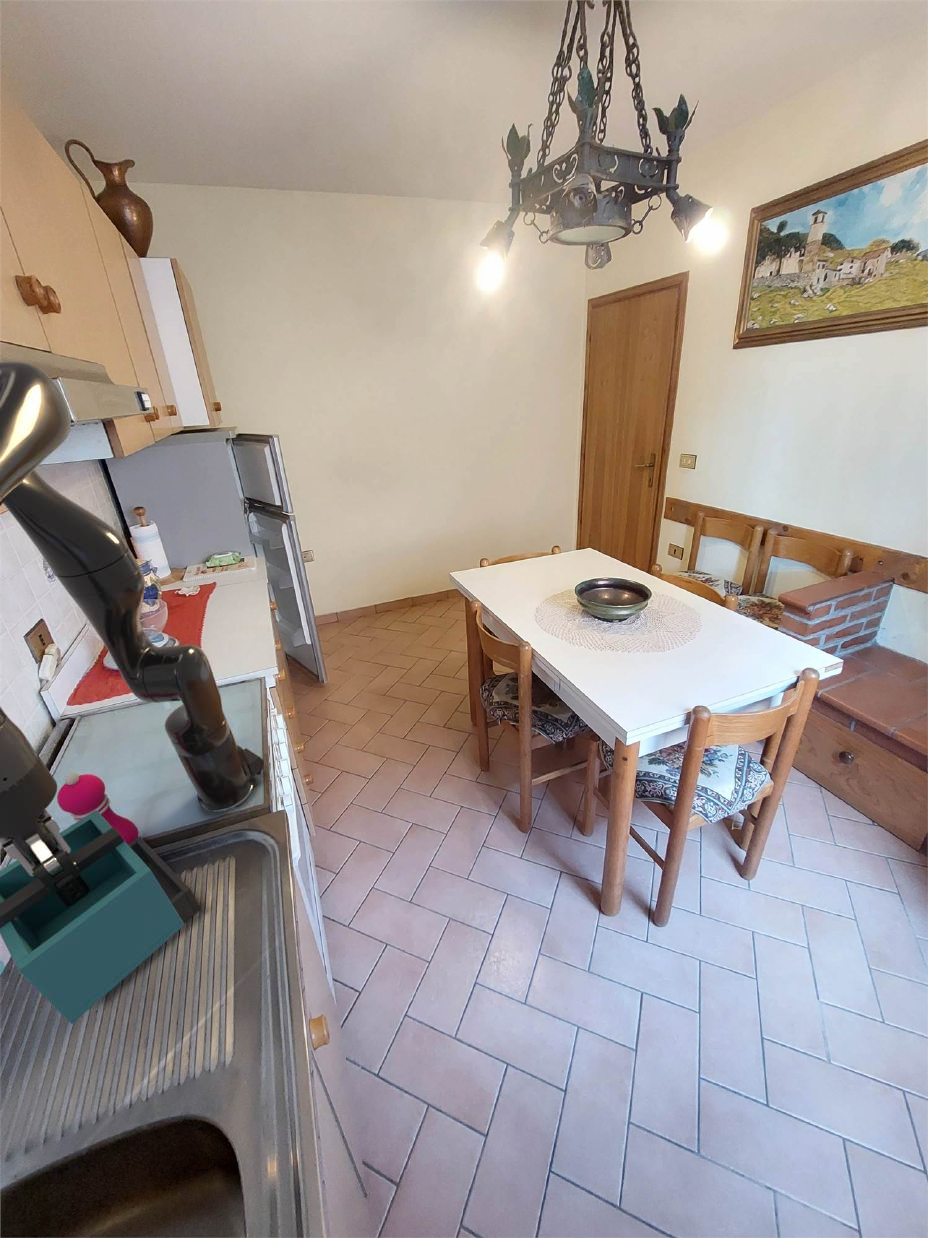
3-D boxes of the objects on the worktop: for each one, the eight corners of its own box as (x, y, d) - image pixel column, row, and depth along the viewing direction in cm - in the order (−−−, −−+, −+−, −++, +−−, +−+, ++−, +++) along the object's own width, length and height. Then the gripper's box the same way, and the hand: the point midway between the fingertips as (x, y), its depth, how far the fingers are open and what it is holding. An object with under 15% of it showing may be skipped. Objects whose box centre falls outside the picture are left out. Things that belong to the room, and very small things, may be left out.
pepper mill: (125, 880, 81) (67, 795, 72) (89, 874, 83) (28, 791, 73) (157, 841, 87) (107, 759, 78) (123, 837, 89) (70, 755, 79)
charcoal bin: (153, 858, 84) (139, 836, 82) (203, 911, 75) (189, 888, 73) (62, 927, 75) (43, 904, 72) (107, 997, 66) (87, 974, 63)
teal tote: (130, 862, 64) (91, 802, 59) (185, 925, 56) (145, 862, 51) (25, 939, 56) (-31, 878, 51) (71, 1025, 48) (11, 963, 43)
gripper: (59, 777, 43) (139, 897, 51) (12, 724, 51) (88, 835, 59) (-53, 841, 38) (56, 963, 46) (-87, 771, 45) (12, 886, 54)
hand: (74, 891), depth 52 cm, fingers closed on teal tote
